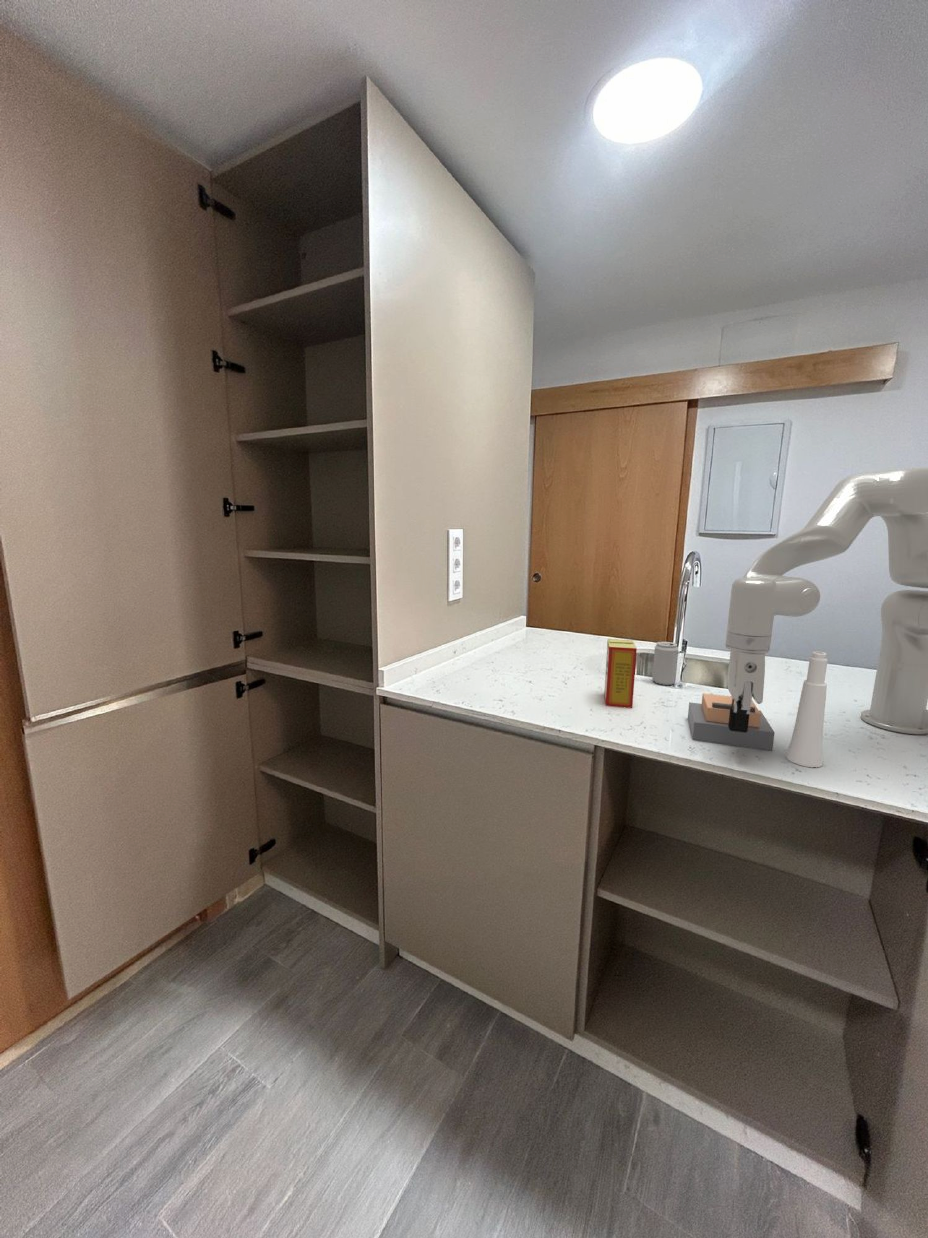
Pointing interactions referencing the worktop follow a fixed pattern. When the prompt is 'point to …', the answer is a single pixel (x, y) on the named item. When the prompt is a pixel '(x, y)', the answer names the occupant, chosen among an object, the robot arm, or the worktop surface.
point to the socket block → (722, 734)
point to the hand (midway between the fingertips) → (737, 730)
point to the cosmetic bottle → (810, 716)
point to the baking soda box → (620, 673)
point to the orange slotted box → (725, 709)
